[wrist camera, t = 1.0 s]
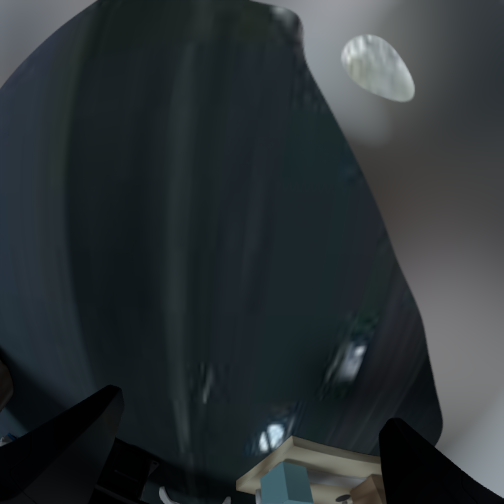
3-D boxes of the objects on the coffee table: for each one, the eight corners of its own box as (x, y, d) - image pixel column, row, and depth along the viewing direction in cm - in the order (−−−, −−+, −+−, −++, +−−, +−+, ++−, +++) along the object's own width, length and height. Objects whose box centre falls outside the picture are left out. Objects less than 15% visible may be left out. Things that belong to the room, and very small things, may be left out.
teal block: (267, 493, 24) (270, 526, 19) (245, 488, 23) (246, 522, 18) (305, 467, 23) (313, 503, 18) (282, 461, 22) (288, 499, 17)
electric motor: (2, 421, 24) (-12, 438, 20) (24, 440, 25) (11, 458, 20) (1, 435, 25) (-10, 450, 20) (21, 452, 26) (10, 469, 21)
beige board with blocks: (345, 499, 28) (355, 532, 22) (236, 480, 26) (236, 525, 19) (398, 459, 27) (416, 493, 20) (291, 435, 24) (302, 487, 17)
